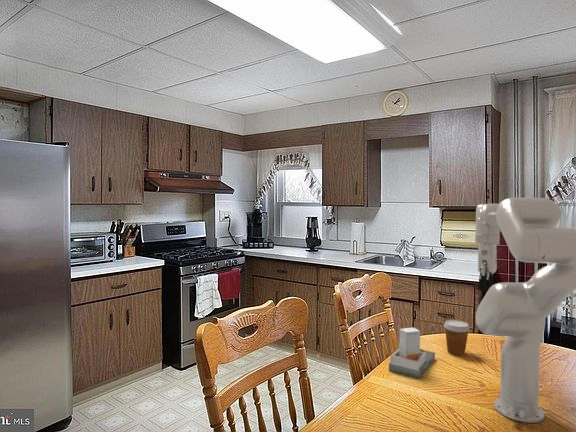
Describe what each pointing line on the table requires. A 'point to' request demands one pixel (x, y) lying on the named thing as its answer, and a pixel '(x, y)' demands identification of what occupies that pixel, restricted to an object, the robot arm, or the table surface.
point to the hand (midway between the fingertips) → (485, 288)
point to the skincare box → (409, 343)
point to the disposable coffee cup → (456, 336)
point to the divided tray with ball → (411, 363)
